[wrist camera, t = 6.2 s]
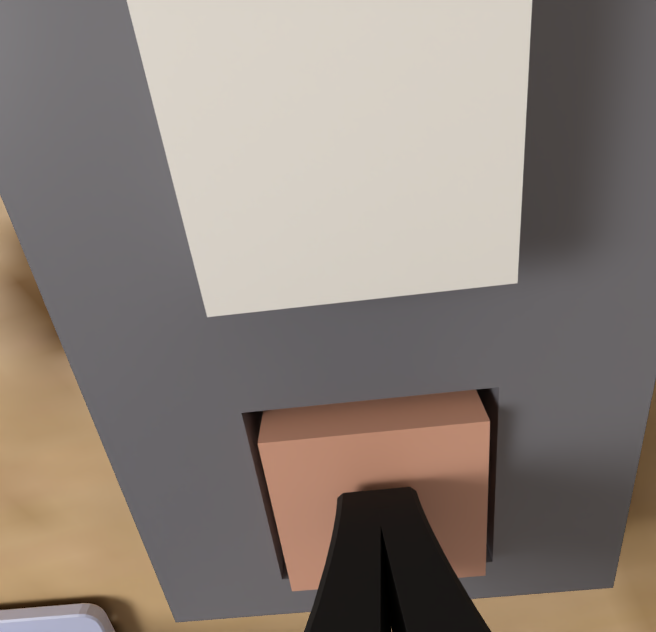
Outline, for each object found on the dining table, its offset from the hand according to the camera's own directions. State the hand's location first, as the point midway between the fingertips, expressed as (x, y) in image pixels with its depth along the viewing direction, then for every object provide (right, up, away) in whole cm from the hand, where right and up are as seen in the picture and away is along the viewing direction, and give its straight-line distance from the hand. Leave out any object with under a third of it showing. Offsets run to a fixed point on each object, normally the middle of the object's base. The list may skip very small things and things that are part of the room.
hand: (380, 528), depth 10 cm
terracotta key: (0, +1, +2) cm, 2 cm away
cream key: (-1, +7, -2) cm, 7 cm away
